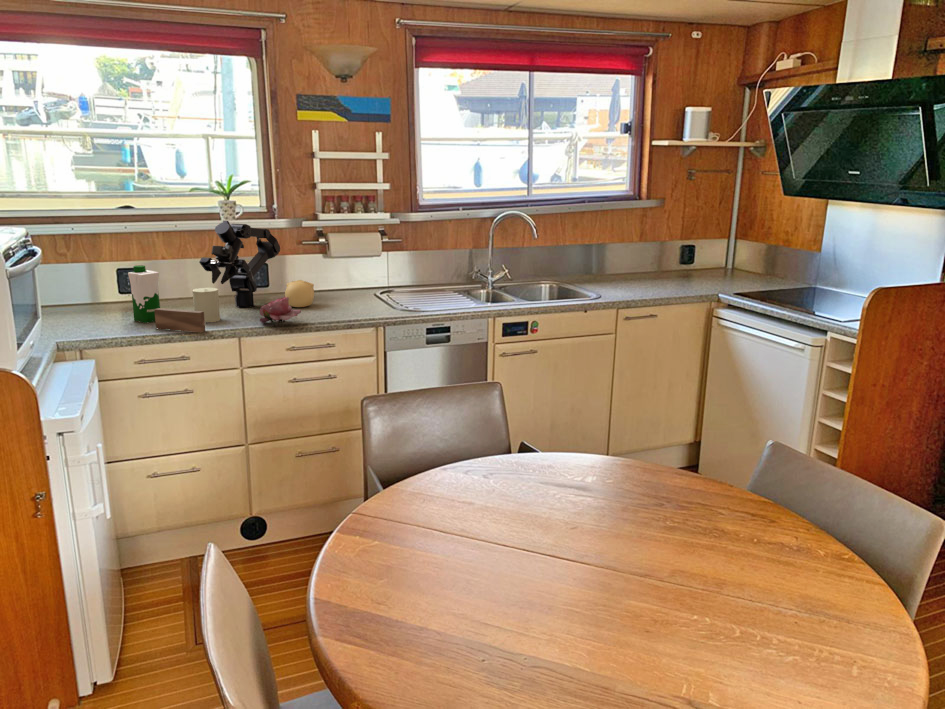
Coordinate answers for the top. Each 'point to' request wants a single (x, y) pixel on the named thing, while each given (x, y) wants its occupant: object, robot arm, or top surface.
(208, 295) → the can
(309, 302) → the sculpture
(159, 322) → the brown box
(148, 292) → the milk carton
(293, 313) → the flower
